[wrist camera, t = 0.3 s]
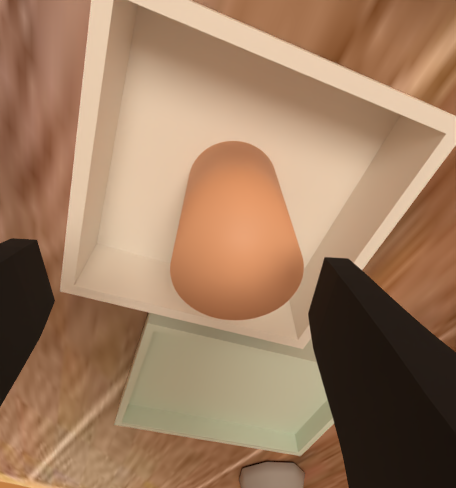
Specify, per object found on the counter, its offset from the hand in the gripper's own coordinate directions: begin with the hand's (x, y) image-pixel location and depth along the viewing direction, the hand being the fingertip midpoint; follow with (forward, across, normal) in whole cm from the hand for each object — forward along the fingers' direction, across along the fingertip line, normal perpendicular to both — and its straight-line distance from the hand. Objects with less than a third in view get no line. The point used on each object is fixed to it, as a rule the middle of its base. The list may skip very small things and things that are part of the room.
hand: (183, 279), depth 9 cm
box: (+9, -2, +1) cm, 10 cm away
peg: (+9, -2, +1) cm, 9 cm away
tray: (+9, -3, +17) cm, 20 cm away
